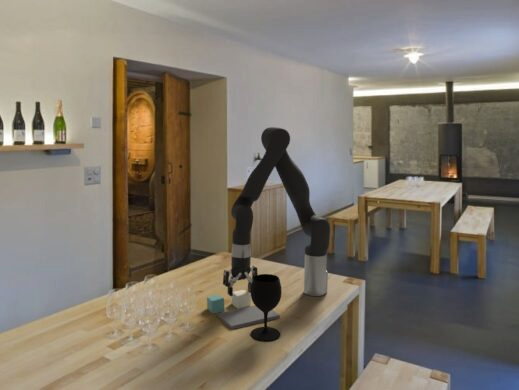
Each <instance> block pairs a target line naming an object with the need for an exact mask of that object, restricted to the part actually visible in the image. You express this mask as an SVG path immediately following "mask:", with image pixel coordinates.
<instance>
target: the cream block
mask: <svg viewBox="0 0 519 390" xmlns="http://www.w3.org/2000/svg"><path fill="white" fill-rule="evenodd" d="M251 302H252V298H251V293H249V292H248V290H245V289H241V290H236V291H233V296H231V304H232V305H233V306H234V307H235V308H236V309H241V308H246V307H251Z"/></svg>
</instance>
